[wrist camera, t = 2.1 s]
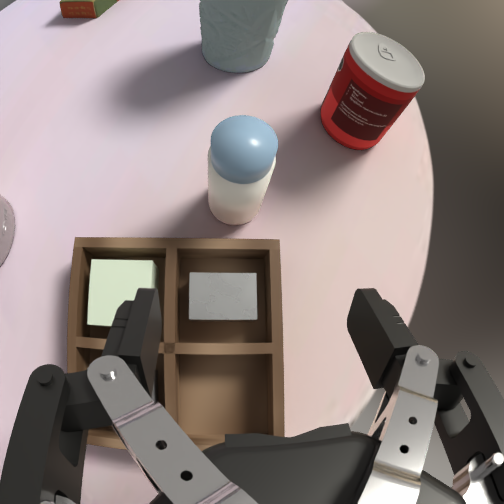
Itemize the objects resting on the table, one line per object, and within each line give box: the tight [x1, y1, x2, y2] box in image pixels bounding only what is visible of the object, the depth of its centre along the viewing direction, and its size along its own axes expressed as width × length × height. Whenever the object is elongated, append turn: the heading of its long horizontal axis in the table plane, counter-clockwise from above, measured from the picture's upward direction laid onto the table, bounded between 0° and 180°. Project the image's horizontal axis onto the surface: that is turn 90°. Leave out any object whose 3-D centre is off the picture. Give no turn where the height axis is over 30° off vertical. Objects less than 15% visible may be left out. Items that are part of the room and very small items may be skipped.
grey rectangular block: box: [189, 272, 257, 322], centre depth 25 cm, size 5×4×2 cm
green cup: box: [199, 0, 288, 73], centre depth 29 cm, size 10×10×12 cm
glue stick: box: [208, 115, 278, 225], centre depth 25 cm, size 5×5×10 cm
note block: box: [87, 259, 159, 327], centre depth 24 cm, size 5×5×3 cm
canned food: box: [321, 32, 425, 150], centre depth 28 cm, size 8×8×11 cm
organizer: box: [67, 237, 284, 451], centre depth 24 cm, size 16×16×4 cm
